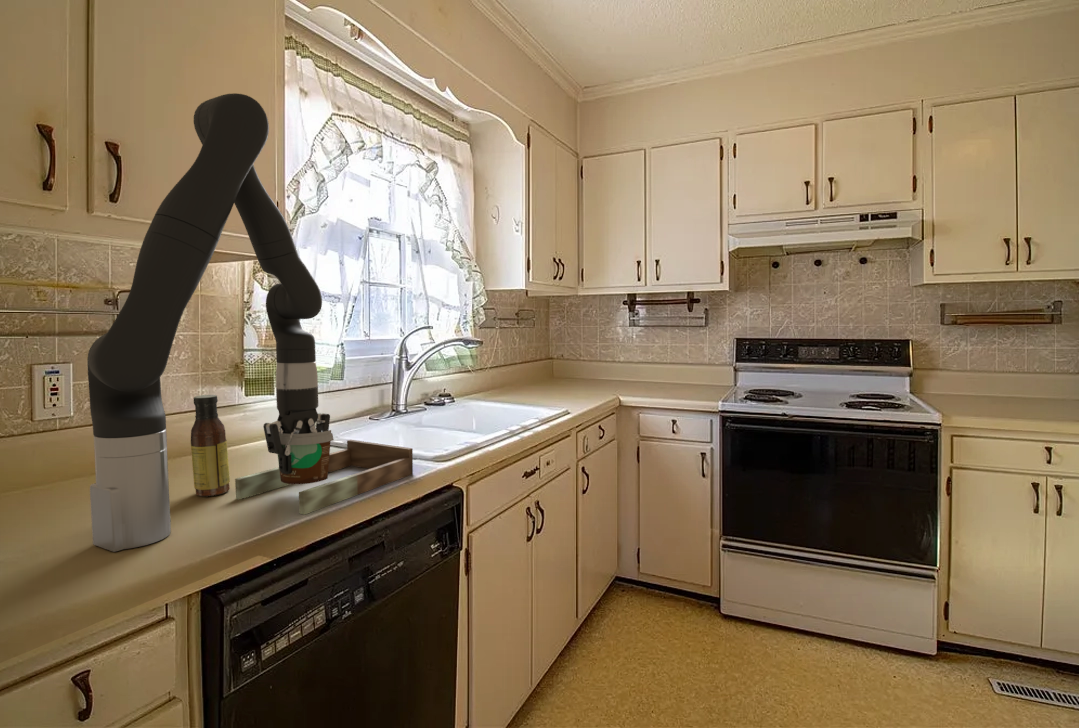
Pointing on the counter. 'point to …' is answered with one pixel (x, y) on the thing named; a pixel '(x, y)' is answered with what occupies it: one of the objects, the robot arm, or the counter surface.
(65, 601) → the counter surface
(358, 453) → the crate bay
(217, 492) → the sauce bottle
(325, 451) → the food container
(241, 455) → the counter surface
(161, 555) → the counter surface
